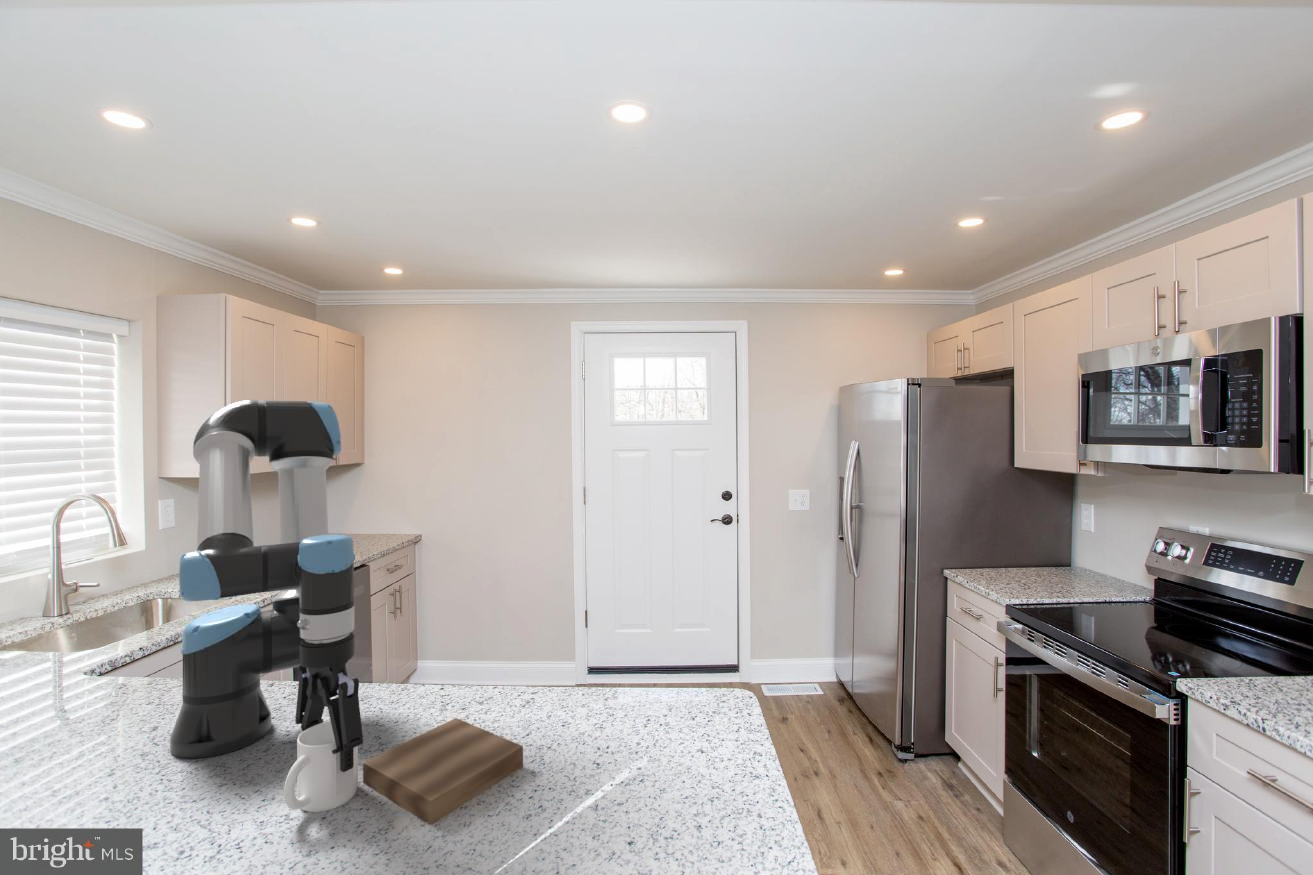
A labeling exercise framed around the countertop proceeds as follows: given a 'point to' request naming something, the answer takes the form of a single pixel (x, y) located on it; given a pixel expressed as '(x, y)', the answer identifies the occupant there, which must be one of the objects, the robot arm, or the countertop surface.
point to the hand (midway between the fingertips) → (328, 779)
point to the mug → (316, 772)
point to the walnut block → (442, 768)
